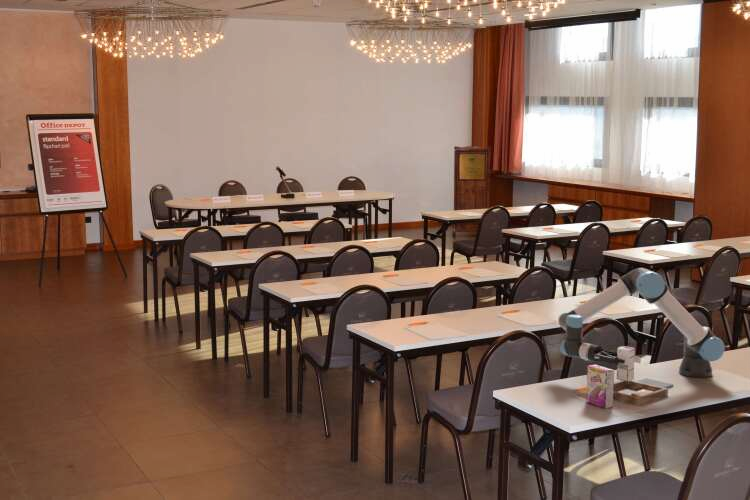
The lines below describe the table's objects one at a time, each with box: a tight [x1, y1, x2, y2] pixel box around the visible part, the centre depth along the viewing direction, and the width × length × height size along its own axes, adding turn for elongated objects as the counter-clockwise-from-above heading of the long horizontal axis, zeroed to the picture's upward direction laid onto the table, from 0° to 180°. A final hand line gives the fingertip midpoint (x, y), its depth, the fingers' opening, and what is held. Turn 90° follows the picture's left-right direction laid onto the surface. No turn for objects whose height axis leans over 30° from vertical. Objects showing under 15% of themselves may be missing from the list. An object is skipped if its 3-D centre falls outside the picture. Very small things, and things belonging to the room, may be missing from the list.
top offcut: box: [630, 389, 653, 397], centre depth 398 cm, size 5×10×1 cm, turn 134°
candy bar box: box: [585, 364, 615, 410], centre depth 388 cm, size 11×5×16 cm, turn 33°
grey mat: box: [637, 377, 674, 389], centre depth 418 cm, size 14×14×1 cm
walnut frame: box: [613, 380, 669, 407], centre depth 402 cm, size 22×23×4 cm
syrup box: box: [616, 345, 636, 381], centre depth 403 cm, size 6×6×14 cm
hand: (636, 361), depth 399 cm, fingers closed on syrup box, 6 cm apart
